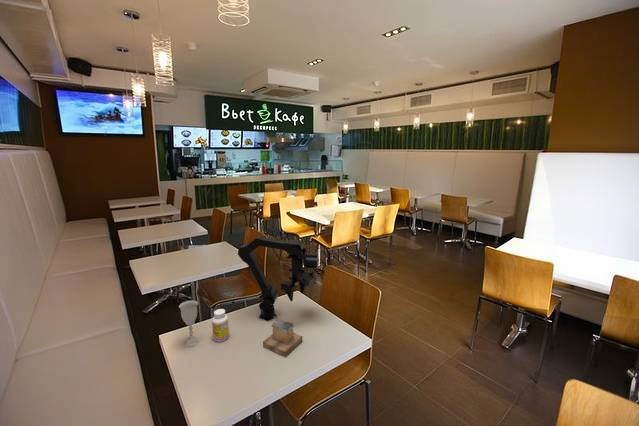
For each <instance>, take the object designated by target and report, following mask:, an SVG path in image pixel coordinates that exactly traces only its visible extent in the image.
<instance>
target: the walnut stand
mask: <svg viewBox="0 0 639 426" xmlns="http://www.w3.org/2000/svg"><path fill="white" fill-rule="evenodd" d="M272 336H273V333H272V334H271V335H270V336H268V337H267V338H266V339H264V340H263V341H262V347H263V348H264V349H266V350H269V351H271V352H273V353H275V354H278V355H280V356H282V357H284V358H287V356H289V355H290V354H291V353H292V352H293V351H294V350H295V349H296V348H297V347H298V346H299V345H301V343H302V342H303V336H302V335H301V334H298V333H295V332H293V336H294V339H293V340H292V341H291V342H290V343H289V344H288V345H285V344H282V343H280V342H278V341H275V340H273V339H272Z"/></svg>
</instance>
